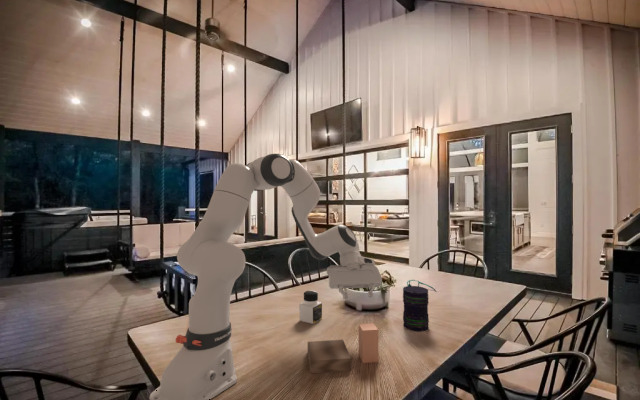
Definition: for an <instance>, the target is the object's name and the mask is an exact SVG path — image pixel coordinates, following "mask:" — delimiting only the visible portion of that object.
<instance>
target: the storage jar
mask: <svg viewBox="0 0 640 400" xmlns="http://www.w3.org/2000/svg"><path fill="white" fill-rule="evenodd" d="M402 302H403V313H402V315H403V316H402V321H403V328H405V329H406V330H409V331H412V332H418V333H423V332H427V331H428V330H429V323H430V321H429V320H430V318H429V313H428V312H429V307H428V306H429V289H428V288H426V287H422V286H420V285H419V286H418V285H411V286H403V287H402Z"/></svg>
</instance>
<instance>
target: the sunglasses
mask: <svg viewBox="0 0 640 400" xmlns="http://www.w3.org/2000/svg"><path fill="white" fill-rule="evenodd" d="M412 281H413V282H414V281H415V282H417V286H419V287H420V285H424V286H425V287H426V286H427V287H429V288H431V289H432V290H433V291H434V292H436V293H437V290H436V289H435V288H434V287H432V286H431V285H428V284H426V283H424V282H421V281H419V280H415V279H409V280H407V282H406V285H407V286H412V284H411V282H412Z"/></svg>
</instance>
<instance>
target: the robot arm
mask: <svg viewBox="0 0 640 400" xmlns="http://www.w3.org/2000/svg"><path fill="white" fill-rule="evenodd" d="M277 187H281V188H282V189H283V190H284V191H285V193H286V194H287V195H288V196H289V198H290V200H291V203H292V207H291V215H292V218H293V220H294V222H295V224H296V226H297V228H298V230H299V231H300V234H301V236H302V237H303V239H304V241H305V243H306V245H307V249H308V251H309V254H310V255H311V257H313V258H315V259H317V260H320V261H323V260H325V259H327V258H329V257H330V256H332V255H334V254H336V253H338V254H339V262H340V264H337V265H333V264H331V265H329V266H328V267H326V274H327V276H328V287H329V289H331V290H334V289H337V290H338V292H339V293H340V294H341V295H342V299H345V300H348V297H349V295H348V292H347V291H345V290H344V289H357V288H358V289H359V288H361V289H362V288H365V289H366V288H368V289H369V290H368V292H367V297H368V298H369V299H370V298H373V297H374V293H373V291H374V288H379V287H381V285H382V282H383V278H382V276H381V272H380V270H379V268H378V267H377V266H376V265H375V264H376V263H375V260H374V259H373V258H369V257H365V256H362V254H361V253H360V245H359V242H358V241H359V240H358V239H357V236H356V233H355V231H353V229H351V228H350V227H348V226H347V225H344V224H337V225H335V226H333V227H331V228H329V229H327V230H325V231H323V232H320V233H315V231H314V229H313V227H312V224H311V223H310V220H309V219H308V216H309V215H310V214H311V212H312V211H313V210H314V209H315V208H316V207H317V205H318V203H319V201H320V198H321V190H320V187H319V185H318V183H317V182H316V181H315V179H314V177H312V175H311V174H310V172H309V171H308V169H306V168H305V167H304V166H303V164H301V163H300V162H299V160H296V159H289V158H288V157H286V156H285V155H283V154H280V153H269V154H267V155H265V156H261V157H258V158H256V159H253V161H251V162H249V163H247V164H246V165H245V164H243V163H230V164H229V165H227V166H226V168H225V169H224V170H223V172H222V173H221V176H220V178H219V179H218V181H217V184H216V186H215V188H214V190H213V193H212V194H211V197H210V201H209V204H208V205H207V208H206V211H205V214H204V215H203V217H202V218H201V220H200V222H199V224H198V226H196V228H195V230H194V231H193V233H192V234H191V235H190V237H189V239H187V240H186V241H185V242H184V243H183V244H181V245H180V247H179V249H178V250H177V255H176V259H177V263H178V265H179V266H180V268H182V269H183V270H184V271H185V272H186V273H188V274H190V275H194V276H196V277H197V285H196V289H195V292H194V295H193V296H192V297H191V298H190V299H189V302H188V327H187V330H186V333H185V335H182V334H178V335H177V336H176V338H175V339H174V340H175V343H176V344H181V345H182V347H181V348H180V349H179V350H178V352H177V353H176V355H175V356H174V357H173V358H172V359H171V360H170V362H169V363H168V365H167V366H166V367H165V369H164V370H163V372H162V374H161V379H160V385H159V386H158V387H157V388H155V390H153V391H152V392H151V393H150V395H149V400H209V399H210V400H211V399H213V398H215V397H216V396H218V395H219V394H221V393H222V392H223V391H226V390H227V389H229V388H230V387H231V386H233V385H235V384H237V382H238V377H237V374H236V368H235V367H236V366H235V363H234V354H233V348H232V343H231V337H232V323H231V321H230V320H231V319H230V315H231V313H230V312H231V296H232V291H233V288H234V284H235V283H236V281H237V279H238V278H239V277H240V276H241V275H242V274H243V272H244V270H245V267H246V263H247V262H246V256H245V252H244V251H243V249H241V248H240V247H238V246H237V245H235V244H232V243H231V242H228V241H229V239H230V238H231V236H232V235H233V234H234V233H235V232H236V231H238V230H239V229H240V228H241V227H242V225H243V222H244V219H245V216H246V213H247V210H248V208H249V204H250V201H251V198H252V195H253V193H254V192H259V191H260V192H261V191H263V190H264V191H266V190H268V191H269V190H273V189H275V188H277ZM156 390H157V391H156Z"/></svg>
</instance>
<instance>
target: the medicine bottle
mask: <svg viewBox="0 0 640 400" xmlns="http://www.w3.org/2000/svg"><path fill="white" fill-rule="evenodd" d="M318 296H319V294H318V291H315V290H313V289H311V290H306V291H304V292H303V302H301V303H300V304H299V307H298V308H299V321H300V322H303V323H306V324H307V323H308V324H311V325H315V324H316V323H317V322H319V321H320V320H322V319H323V303H322V302H321V301H319V297H318Z"/></svg>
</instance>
